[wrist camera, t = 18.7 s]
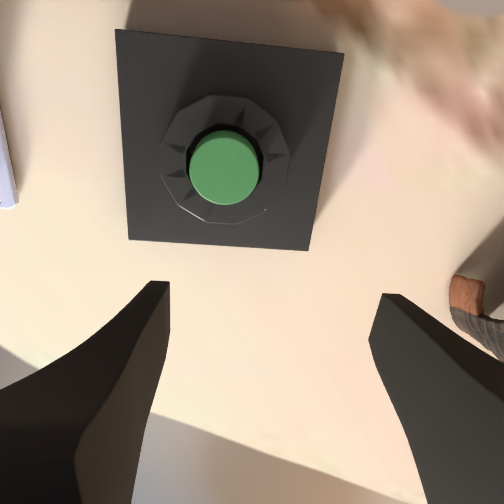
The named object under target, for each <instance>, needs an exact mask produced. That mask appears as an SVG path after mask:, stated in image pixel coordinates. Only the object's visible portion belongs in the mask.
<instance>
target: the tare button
mask: <svg viewBox="0 0 504 504" xmlns="http://www.w3.org/2000/svg"><path fill="white" fill-rule="evenodd" d="M189 171H190V178H191V181H192V184H193V186H194V188H195V189H196V191H197V192H198V193H199V194H200V195H201V196H202V197H204V198H205V199H206V200H208V201H210V202H213V203H216V204H222V205H228V204H234V203H237V202H240V201H242V200H243V199H245V198H246V197H247V196H249V195H250V194H251V192H252V191H253V190H254V188H255V186H256V184H257V181H258V177H259V165H258V160H257V156H256V152H255V150H254V148H253V146H252V144H251V143H250V142H249V141H248V140H247V139H246V138H245V137H244V136H242V135H241V134H239V133H237V132H234V131H229V130H219V131H215V132H212V133H210V134H208V135H206V136H205V137H204V138H202V140H201V141H200V142H199V143H198V144H197V146H196V148H195V151H194V153H193V156H192V158H191V162H190V168H189Z"/></svg>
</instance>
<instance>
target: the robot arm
mask: <svg viewBox="0 0 504 504" xmlns="http://www.w3.org/2000/svg"><path fill="white" fill-rule="evenodd" d="M0 199H1V202H0V208H1V209H12V208H13V207H15V206H16V205H17V204H18V202H19V199H18V194H17V189H16V184H15V179H14V174H13V169H12V165H11V160H10V155H9V150H8V145H7V140H6V135H5V130H4V126H3V121H2V116H1V111H0ZM169 335H170V282H168V281H150V282H149V283H147V284H146V285H145V287H144V288H143V289H142V290H141V291H140V292H139V293H138V294H137V295H136V296H135V297H134V298H133V299H132V300H131V301H130V302H129V303H128V304H127V305H126V306H125V307H124V308H123V309H122V310H121V311H120V312H119V313H118V314H117V315H116V316H115V317H114V318H113V319H111V320H110V321H109V322H108V323H107V324H106V325H104V326H103V327H102V328H101V329H100V330H99V331H97V332H96V333H95V334H94V335H92V336H91V337H90V338H89V339H87V340H86V341H85V342H83V343H82V344H80V345H79V346H77V347H76V348H75V349H73V350H72V351H70V352H69V353H67V354H65V355H64V356H62V357H60V358H59V359H57V360H55V361H54V362H52V363H50V364H49V365H47V366H45V367H44V368H42V369H40V370H38V371H37V372H35V373H33V374H31V375H29V376H27V377H25V378H23V379H21V380H19V381H17V382H15V383H13V384H11V385H9V386H7V387H5V388H3V389H1V390H0V504H131V500H132V495H133V489H134V483H135V478H136V473H137V467H138V462H139V457H140V452H141V446H142V441H143V436H144V431H145V427H146V423H147V419H148V416H149V412H150V409H151V406H152V402H153V399H154V396H155V392H156V389H157V386H158V382H159V379H160V376H161V372H162V369H163V365H164V362H165V358H166V353H167V347H168V341H169ZM368 340H369V344H370V348H371V352H372V355H373V359H374V362H375V365H376V368H377V370H378V372H379V375H380V377H381V379H382V382H383V384H384V386H385V388H386V391H387V393H388V395H389V397H390V399H391V402H392V404H393V406H394V408H395V411H396V413H397V415H398V417H399V419H400V422H401V424H402V426H403V429H404V431H405V434H406V436H407V439H408V442H409V445H410V448H411V451H412V454H413V457H414V460H415V463H416V466H417V469H418V473H419V476H420V479H421V483H422V486H423V489H424V493H425V496H426V499H427V503H428V504H504V363H502V362H501V361H499V360H497V359H495V358H494V357H492V356H490V355H489V354H487V353H485V352H484V351H482V350H480V349H479V348H477V347H476V346H474V345H473V344H471V343H470V342H468V341H466V340H465V339H463V338H462V337H460V336H459V335H458V334H456V333H455V332H453V331H452V330H450V329H449V328H447V327H446V326H445V325H443V324H442V323H440V322H439V321H438V320H436V319H435V318H434V317H432V316H431V315H429V314H428V313H427V312H425V311H424V310H423V309H421V308H420V307H418V306H417V305H416V304H414V303H413V302H411V301H410V300H408V299H407V298H405V297H404V296H402V295H400V294H388V293H382V296H381V300H380V303H379V306H378V309H377V313H376V316H375V319H374V322H373V326H372V329H371V332H370V336H369V339H368Z"/></svg>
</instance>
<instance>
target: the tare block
mask: <svg viewBox="0 0 504 504" xmlns="http://www.w3.org/2000/svg"><path fill="white" fill-rule="evenodd" d="M115 41H116V56H117V71H118V86H119V102H120V117H121V132H122V147H123V162H124V178H125V193H126V208H127V223H128V239H129V240H138V241H154V242H170V243H186V244H202V245H218V246H234V247H250V248H265V249H281V250H297V251H308V250H309V245H310V239H311V234H312V228H313V223H314V217H315V212H316V207H317V201H318V196H319V190H320V185H321V179H322V174H323V168H324V163H325V158H326V152H327V147H328V141H329V136H330V130H331V125H332V120H333V114H334V109H335V103H336V98H337V92H338V87H339V81H340V76H341V71H342V65H343V60H344V53H337V52H327V51H318V50H309V49H299V48H290V47H281V46H271V45H262V44H253V43H243V42H234V41H225V40H215V39H206V38H197V37H187V36H178V35H169V34H159V33H150V32H141V31H131V30H122V29H115ZM219 130H229V131H234V132H237V133H239V134H241V135H242V136H244V137H245V138H246V139H247V140H248V141H249V142H250V143H251V144H252V146H253V148H254V150H255V152H256V156H257V160H258V165H259V177H258V181H257V184H256V186H255V188H254V190H253V191H252V192H251V194H250V195H249V196H247V197H246V198H245V199H243V200H242V201H240V202H237V203H234V204H228V205H222V204H216V203H213V202H210V201H208V200H206V199H205V198H204V197H202V196H201V195H200V194H199V193H198V192H197V191H196V189H195V188H194V186H193V184H192V181H191V178H190V171H189V168H190V162H191V158H192V156H193V153H194V151H195V148H196V146H197V144H198V143H199V142H200V141H201V140H202V138H204V137H205V136H206V135H208V134H210V133H212V132H215V131H219Z"/></svg>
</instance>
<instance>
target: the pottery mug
mask: <svg viewBox="0 0 504 504" xmlns="http://www.w3.org/2000/svg"><path fill="white" fill-rule="evenodd" d="M484 289H485V284H484V283H483V282H482V281H479V280H475V279H467V278H465V277H462V276H459V275H454V276H453V277H452V280H451V284H450V290H449V304H450V312H451V315H452V319H453V321H454V322H455V324H456V326H457V327H458V328H459V329H460V330H462V331H464V332H465V333H467V334H469V335H470V336H471V337H473V338H474V339H475V340H477V341H478V342H480V343H481V344H482V345H483V346H484V347H485V348H486V349H487V350H490V351H492V353H493V354H494V355H495V356H496V357H497V358H498V360H499V361H501V362H502V363H504V320H498V319H493V318H490V317H489V316H487V315H485V314H484V308H483V297H484Z"/></svg>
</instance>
